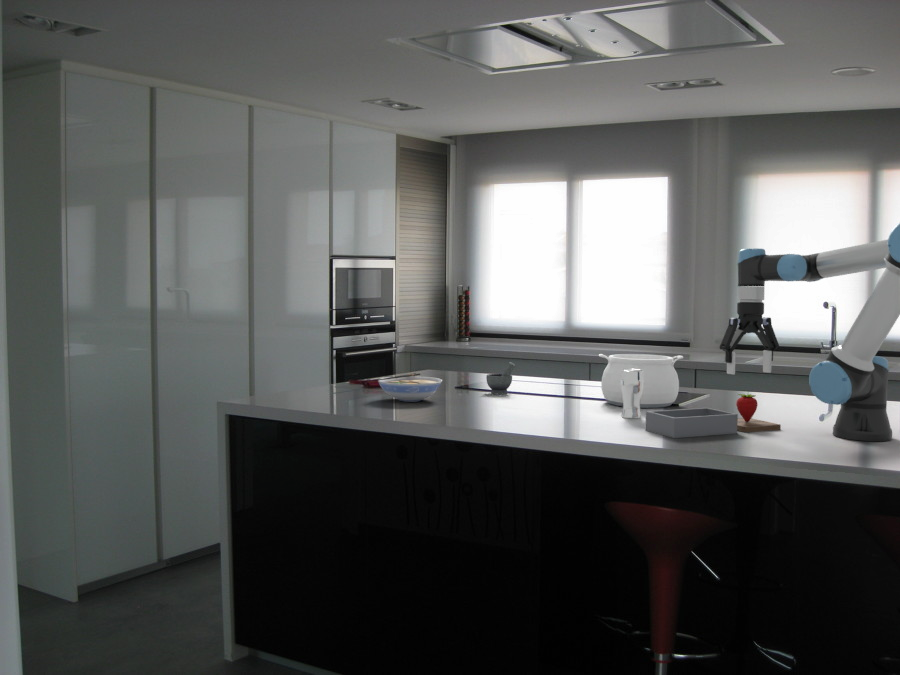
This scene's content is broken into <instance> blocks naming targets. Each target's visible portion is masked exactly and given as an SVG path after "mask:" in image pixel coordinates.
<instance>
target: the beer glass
mask: <svg viewBox="0 0 900 675" xmlns="http://www.w3.org/2000/svg"><path fill="white" fill-rule="evenodd" d="M642 392H643V370H640V369H622V375H621V393H622V399H623V407H622V411H621V412H622V413H621V418H622V419H623V418H624V419H630V420H631V419H633V420H638V419H641V418H642V413H641V408H640V402H641V397H642Z"/></svg>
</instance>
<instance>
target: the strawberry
mask: <svg viewBox="0 0 900 675" xmlns="http://www.w3.org/2000/svg"><path fill="white" fill-rule="evenodd" d="M746 391H747V394H745V393H744V394H743V393H742V394H741V393H739V394H737V396H740V397H739V398H737V400H736V409H737V411H738V413H739V415H740V416H741V418H743V419H744V420H745V421H746V422H749V421H750V419H751V418H752V419H753V416H754V415H755V413H756V411H757V408H758V405H759V404H758V401H757V399H756V398H755V397H757V396H756V394H755V395H754V394H749V391H748V390H746Z"/></svg>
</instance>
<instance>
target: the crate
mask: <svg viewBox="0 0 900 675" xmlns="http://www.w3.org/2000/svg"><path fill="white" fill-rule="evenodd" d="M738 418H739V415H738V413H733V412H729V411H726V410H725V411H724V410H721V409H720V410H719V409H714V408H711V407H701V408H681V409H663V410H648V411H645V431H647V432H650V433H653V434H658V435H662V436H665V437H668V438H671V439H679V438H682V439H683V438H691V437H692V438H693V437H694V438H695V437H706V436H718V435H719V436H720V435H734V434H738V430H737V420H738Z"/></svg>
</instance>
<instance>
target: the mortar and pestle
mask: <svg viewBox="0 0 900 675" xmlns="http://www.w3.org/2000/svg"><path fill="white" fill-rule="evenodd" d="M515 367H516V364H515V363H514V362H512V361H509V362H508V365H507V367H506V368H505V369H504V371H503V373H490V374H486V384H487V386H488V387H489V388H490V389H491V391H490V394H492V395H507V394H508V389H509V388H510V386H511V384H512V380H513V374H512V372H513V371H514V369H515Z"/></svg>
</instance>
